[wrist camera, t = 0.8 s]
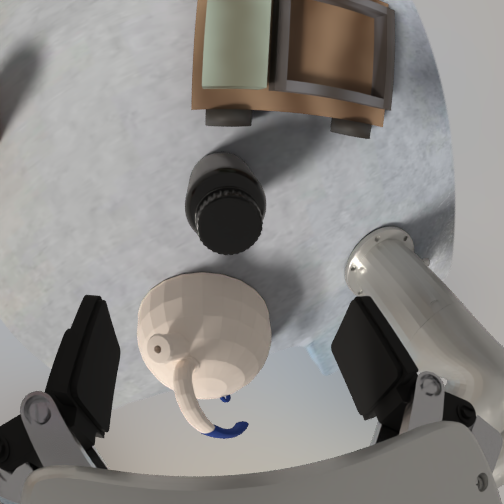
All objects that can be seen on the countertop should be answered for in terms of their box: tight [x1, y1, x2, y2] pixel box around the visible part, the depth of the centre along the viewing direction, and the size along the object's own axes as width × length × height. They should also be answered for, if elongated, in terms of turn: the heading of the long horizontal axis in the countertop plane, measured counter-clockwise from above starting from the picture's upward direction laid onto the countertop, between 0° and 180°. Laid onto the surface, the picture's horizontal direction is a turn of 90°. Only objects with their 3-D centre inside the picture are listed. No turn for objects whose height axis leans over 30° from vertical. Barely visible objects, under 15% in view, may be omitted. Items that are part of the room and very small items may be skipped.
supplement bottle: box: [185, 152, 266, 255], centre depth 24 cm, size 7×7×12 cm
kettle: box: [137, 272, 271, 439], centre depth 33 cm, size 20×21×18 cm
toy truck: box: [191, 0, 395, 139], centre depth 19 cm, size 20×19×7 cm
